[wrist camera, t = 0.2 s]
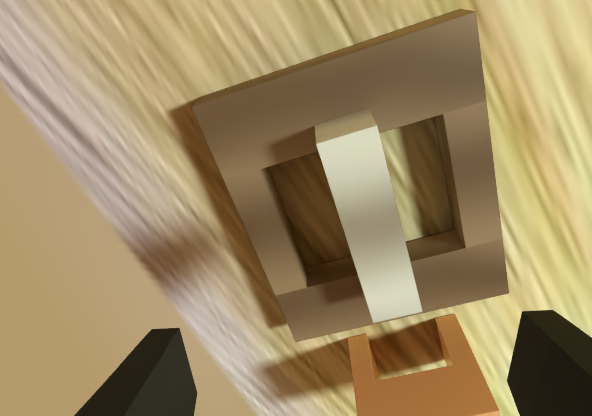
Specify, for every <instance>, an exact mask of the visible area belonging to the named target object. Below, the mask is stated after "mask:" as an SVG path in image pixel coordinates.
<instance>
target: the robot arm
mask: <svg viewBox="0 0 592 416" xmlns="http://www.w3.org/2000/svg"><path fill="white" fill-rule="evenodd" d="M507 382H508V385H509V387H510V390H511V393H512V396H513V398H514V401H515V404H516V407H517V409H518V412H519V414H520V416H592V338H591V337H590V336H588V335H587V334H586V333H584V332H583V331H582V330H580V329H579V328H578V327H576V326H575V325H573V324H572V323H571V322H569V321H568V320H566V319H565V318H564V317H562V316H561V315H559V314H558V313H556V312H555V311H553V310H543V311H522V315H521V319H520V324H519V329H518V333H517V338H516V342H515V347H514V351H513V356H512V361H511V365H510V370H509V374H508V379H507ZM196 398H197V391H196V387H195V384H194V380H193V376H192V372H191V369H190V365H189V362H188V358H187V354H186V350H185V347H184V343H183V339H182V336H181V332H180V328H168V329H152V330H151V331H150V332H149V333H148V334H147V335H146V336H145V337H144V338H143V339H142V341H141V342H140V343H139V344H138V345H137V346H136V347H135V348H134V350H133V351H132V352H131V353H130V354H129V355H128V356H127V357H126V359H125V360H124V361H123V362H122V363H121V364H120V366H119V367H118V368H117V369H116V370H115V371H114V372H113V373H112V375H111V376H110V377H109V378H108V379H107V380H106V381H105V383H104V384H103V385H102V386H101V387H100V388H99V389H98V390H97V391H96V392H95V394H94V395H93V396H92V397H91V398H90V399H89V400H88V401H87V402H86V403H85V404H84V406H83V407H82V408H81V409H80V410H79V411H78V412H77V413H76V414H75V415H74V416H194V410H195V404H196Z"/></svg>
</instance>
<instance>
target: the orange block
mask: <svg viewBox="0 0 592 416" xmlns="http://www.w3.org/2000/svg"><path fill="white" fill-rule="evenodd" d="M435 320H436V325H437V329H438V333H439V338H440V342H441V346H442V351H443V355H444V359H445V362H446V364H447V367H442V368H437V369H432V370H427V371H422V372H418V373H413V374H408V375H403V376H398V377H393V378H389V379H384V380H380V374H379V370H378V367H377V365H376V362H375V359H374V356H373V353H372V350H371V347H370V344H369V341H368V338H367V335H366V334H363V335H358V336H354V337H350V338H348V345H349V352H350V360H351V368H352V376H353V384H354V392H355V400H356V408H357V416H500V412H499V409H498V407H497V405H496V402H495V400H494V398H493V396H492V394H491V392H490V389H489V387H488V385H487V383H486V381H485V378H484V376H483V374H482V372H481V370H480V368H479V365H478V363H477V361H476V359H475V357H474V354H473V352H472V350H471V348H470V346H469V344H468V341H467V339H466V337H465V335H464V333H463V330H462V328H461V326H460V324H459V322H458V320H457V317H456V315H455V314H451V315H447V316H442V317H438V318H435Z"/></svg>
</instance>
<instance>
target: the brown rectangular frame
mask: <svg viewBox="0 0 592 416" xmlns="http://www.w3.org/2000/svg"><path fill="white" fill-rule="evenodd" d="M191 108H192V110H193V112H194V115H195V117H196V119H197V121H198V124H199V126H200V128H201V130H202V133H203V135H204V137H205V139H206V142H207V144H208V146H209V148H210V151H211V153H212V155H213V157H214V159H215V162H216V164H217V166H218V168H219V171H220V173H221V175H222V177H223V180H224V182H225V184H226V186H227V189H228V191H229V193H230V195H231V198H232V200H233V202H234V204H235V207H236V209H237V211H238V213H239V216H240V218H241V220H242V222H243V225H244V227H245V229H246V231H247V234H248V236H249V238H250V240H251V243H252V245H253V247H254V249H255V252H256V254H257V256H258V258H259V261H260V263H261V265H262V267H263V270H264V272H265V274H266V276H267V279H268V281H269V283H270V285H271V287H272V290H273V292H274V294H275V296H276V299H277V301H278V303H279V305H280V308H281V310H282V312H283V314H284V317H285V319H286V321H287V323H288V326H289V328H290V330H291V332H292V335H293V337H294V339H295V341H296V342H299V341H303V340H307V339H312V338H316V337H320V336H325V335H329V334H333V333H338V332H342V331H347V330H351V329H355V328H360V327H364V326H368V325H373V324H377V323H381V322H386V321H390V320H395V319H399V318H403V317H408V316H412V315H416V314H421V313H425V312H429V311H434V310H438V309H442V308H447V307H451V306H456V305H460V304H464V303H469V302H473V301H477V300H482V299H486V298H490V297H495V296H499V295H504V294H508V293H509V289H508V281H507V272H506V264H505V255H504V247H503V238H502V230H501V221H500V213H499V204H498V196H497V187H496V179H495V170H494V162H493V153H492V145H491V136H490V128H489V119H488V111H487V102H486V94H485V85H484V77H483V68H482V60H481V51H480V43H479V34H478V26H477V17H476V11H470V10H464V9H459V10H456V11H453V12H450V13H447V14H444V15H441V16H438V17H435V18H432V19H429V20H426V21H423V22H420V23H418V24H415V25H412V26H409V27H406V28H403V29H400V30H397V31H394V32H391V33H388V34H385V35H382V36H379V37H376V38H373V39H370V40H367V41H364V42H361V43H359V44H356V45H353V46H350V47H347V48H344V49H341V50H338V51H335V52H332V53H329V54H326V55H323V56H320V57H317V58H314V59H311V60H308V61H305V62H303V63H300V64H297V65H294V66H291V67H288V68H285V69H282V70H279V71H276V72H273V73H270V74H267V75H264V76H261V77H258V78H255V79H252V80H249V81H246V82H244V83H241V84H238V85H235V86H232V87H229V88H226V89H223V90H220V91H217V92H214V93H211V94H208V95H205V96H202V97H200V98H199V99H198V100H197V101H196V102H195V104H194V105H193V106H192V107H191ZM431 117H435V122H436V128H437V134H438V139H439V145H440V151H441V156H442V162H443V167H444V173H445V179H446V184H447V190H448V196H449V201H450V207H451V212H452V218H453V224H454V229H455V230H451V231H447V232H443V233H439V234H436V235H432V236H428V237H424V238H420V239H416V240H412V241H408V242H405V238H404V234H403V230H402V226H401V221H400V217H399V213H398V209H397V205H396V201H395V197H394V193H393V189H392V185H391V181H390V176H389V172H388V168H387V164H386V160H385V156H384V152H383V148H382V144H381V140H380V136H379V133H382V132H385V131H388V130H392V129H395V128H398V127H401V126H405V125H408V124H411V123H415V122H418V121H421V120H425V119H428V118H431ZM315 152H319V155H320V158H321V161H322V164H323V167H324V170H325V174H326V177H327V180H328V183H329V186H330V189H331V192H332V195H333V198H334V202H335V205H336V208H337V211H338V214H339V217H340V220H341V223H342V227H343V230H344V233H345V236H346V239H347V242H348V245H349V248H350V252H351V255H352V256H350V257H346V258H342V259H339V260H335V261H331V262H327V263H323V264H319V265H315V266H311V267H308V268H306V265H305V262H304V260H303V257H302V255H301V252H300V249H299V247H298V244H297V242H296V239H295V237H294V234H293V231H292V229H291V226H290V224H289V221H288V218H287V216H286V213H285V211H284V208H283V205H282V203H281V200H280V198H279V195H278V193H277V190H276V187H275V185H274V182H273V180H272V177H271V174H270V172H269V169H268V167H269V166H272V165H276V164H279V163H282V162H286V161H289V160H292V159H296V158H299V157H302V156H305V155H309V154H312V153H315Z"/></svg>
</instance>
